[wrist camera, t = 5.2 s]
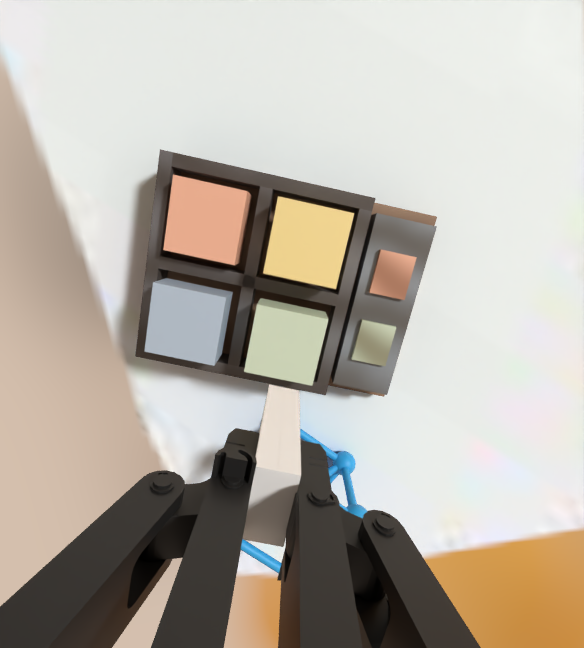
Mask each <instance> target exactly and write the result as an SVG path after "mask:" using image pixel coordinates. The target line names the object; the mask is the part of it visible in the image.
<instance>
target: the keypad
mask: <svg viewBox="0 0 584 648" xmlns="http://www.w3.org/2000/svg"><path fill="white" fill-rule="evenodd" d="M173 175H177V176H182V177H186V178H191V179H195V180H200V181H204V182H209V183H213V184H218V185H222V186H227V187H231V188H235V189H240V190H244V191H248V192H249V193H250V194H251V195H252V200H251V205H250V211H249V216H248V222H247V228H246V233H245V239H244V244H243V250H242V256H241V261H240V263H239V264H236V265H231V264H226V263H221V262H217V261H212V260H207V259H203V258H198V257H194V256H189V255H184V254H180V253H175V252H170V251H166V250H163V249H164V241H165V234H166V226H167V218H168V210H169V203H170V195H171V187H172V179H173ZM278 196H279V197H284V198H288V199H293V200H297V201H302V202H306V203H310V204H315V205H319V206H324V207H328V208H333V209H337V210H342V211H346V212H351V213H354V217H353V221H352V225H351V229H350V233H349V237H348V241H347V245H346V250H345V254H344V258H343V262H342V266H341V270H340V274H339V278H338V282H337V287H336V289H333V288H329V287H324V286H319V285H315V284H310V283H305V282H301V281H296V280H291V279H287V278H282V277H278V276H273V275H268V274H264V273H263V271H264V266H265V261H266V256H267V251H268V246H269V240H270V235H271V230H272V225H273V220H274V215H275V210H276V204H277V199H278ZM374 202H375V198H372V197H368V196H363V195H359V194H354V193H350V192H345V191H341V190H337V189H332V188H328V187H323V186H319V185H315V184H310V183H306V182H301V181H297V180H292V179H288V178H284V177H279V176H275V175H270V174H266V173H262V172H257V171H253V170H248V169H244V168H239V167H235V166H231V165H226V164H222V163H217V162H213V161H209V160H204V159H200V158H195V157H191V156H186V155H182V154H178V153H173V152H169V151H164V150H160V155H159V163H158V172H157V180H156V188H155V197H154V205H153V213H152V222H151V230H150V238H149V247H148V255H147V264H146V272H145V280H144V289H143V297H142V305H141V314H140V322H139V330H138V339H137V347H136V355H135V356H136V357H141V358H146V359H151V360H156V361H161V362H166V363H170V364H175V365H180V366H185V367H190V368H195V369H200V370H205V371H210V372H215V373H219V374H224V375H229V376H234V377H239V378H244V379H249V380H254V381H259V382H264V383H269V384H273V385H278V386H283V387H288V388H293V389H298V390H303V391H308V392H313V393H318V394H322V395H326V391H327V387H328V385H330V386H335V387H340V388H345V389H350V390H354V391H359V392H364V393H369V394H374V395H379V396H384V395H387V393H388V389H389V386H390V383H391V379H392V376H393V372H394V369H395V366H396V362H397V359H398V356H399V352H400V349H401V345H402V342H403V339H404V335H405V332H406V329H407V325H408V322H409V318H410V315H411V312H412V308H413V305H414V302H415V298H416V295H417V291H418V288H419V285H420V281H421V278H422V275H423V271H424V268H425V264H426V261H427V258H428V254H429V251H430V248H431V244H432V241H433V237H434V234H435V231H436V226H434V225H435V222H436V218H437V217H436V216H431V215H427V214H422V213H418V212H413V211H409V210H405V209H400V208H396V207H391V206H387V205H382V204H378V203H374ZM165 278H169V279H174V280H179V281H183V282H188V283H193V284H197V285H202V286H207V287H211V288H216V289H221V290H225V291H230V292H233V294H232V299H231V305H230V311H229V316H228V322H227V328H226V333H225V339H224V345H223V350H222V355H221V356H220V358H219V359H218V361H217V362H216V364H215V365H214V366H213V365H208V364H203V363H198V362H193V361H188V360H184V359H179V358H174V357H169V356H164V355H159V354H154V353H149V352H144V351H145V343H146V335H147V327H148V319H149V311H150V303H151V295H152V287H153V282H155V281H159V280H162V279H165ZM260 298H263V299H268V300H272V301H277V302H282V303H287V304H291V305H296V306H301V307H305V308H310V309H315V310H319V311H324V312H326V314H327V317H328V324H327V328H326V332H325V336H324V340H323V344H322V348H321V352H320V356H319V361H318V365H317V369H316V373H315V377H314V381H313V385H312V386H311V385H306V384H301V383H296V382H291V381H286V380H281V379H276V378H272V377H267V376H262V375H257V374H252V373H247V372H244V369H245V364H246V359H247V353H248V348H249V343H250V338H251V333H252V328H253V323H254V317H255V312H256V307H257V304H258V302H259V300H260Z"/></svg>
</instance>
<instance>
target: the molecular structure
mask: <svg viewBox="0 0 584 648" xmlns="http://www.w3.org/2000/svg"><path fill="white" fill-rule="evenodd" d="M300 438H301V439H303V440H304V441H307V442H312V443H317V444H320V445H321V446H322V447H323V449H324V450H325V451H326V455H327V456H328V457H329V458H330V459H332V460H333V462H332V465H333V466H331V467H329V468H328V469H329V476H330V483H332V481H333V480H334V479H335V478H336V477H337V476H338V475H339V474H340V475H343V480H344V485H345V491H346V496H347V501H348V507H344V506H343V505H341V504H340V503H339V505H340V507H342V508H343V509H344V510H346V511H348V512H350V513H352V514H354V515H356V516H358V517H361V518H363V515H364V514H365V513H366V512H367V510H366V509H365V508H364V507H362V506H361V505H358V504H357V503H356V499H355V494H354V490H353V486H352V481H351V477H350V474H351V473H352V472H353V470H354V468H355V460H354V458H353V456H352V455H351V454H350V453H348V452H345V451H341V452H338V453H337V454H336V453H335V452H333V451H332V450H330V449H329V448H327V447H326V446H325V445H323V444H322V443H320V442H319V441H317V440H316V439H314V438H313V437H312V436H310V435H309V434H307V433H306V432H304V431H303V430H302V429H300ZM241 550H242V551H244V552H245V553H247V554H249V555H250V556H252V557H253V558H255V559H257V560H258V561H260V562H261V563H263V564H265V565H266V566H268V567H269V568H271V569H273V570H274V571H276V572H277V573H279V571H280V567H281V563H280V562H279V561H277V560H275V559H274V558H272V557H271V556H269V555H267V554H266V553H264V552H263V551H261V550H259V549H258V548H256V547H255V546H253V545H252V544H250V543H248V542H247V541H245V540H244V539H242V545H241Z"/></svg>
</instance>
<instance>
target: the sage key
mask: <svg viewBox="0 0 584 648" xmlns="http://www.w3.org/2000/svg"><path fill="white" fill-rule="evenodd" d="M327 324H328V317H327V314H326V312H324V311H319V310H315V309H310V308H305V307H301V306H296V305H291V304H287V303H282V302H277V301H272V300H268V299H263V298H260V300H259V302H258V304H257V307H256V312H255V317H254V323H253V328H252V333H251V338H250V343H249V348H248V353H247V359H246V364H245V369H244V372H247V373H252V374H257V375H262V376H267V377H272V378H276V379H281V380H286V381H291V382H296V383H301V384H306V385H311V386H312V385H313V381H314V377H315V373H316V369H317V365H318V361H319V356H320V352H321V348H322V344H323V340H324V336H325V332H326V328H327Z"/></svg>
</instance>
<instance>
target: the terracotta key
mask: <svg viewBox="0 0 584 648" xmlns="http://www.w3.org/2000/svg"><path fill="white" fill-rule="evenodd" d="M251 200H252V195H251V194H250V193H249V192H248V191H244V190H240V189H235V188H231V187H227V186H222V185H218V184H213V183H209V182H204V181H200V180H195V179H191V178H186V177H182V176H177V175H173V179H172V187H171V195H170V203H169V210H168V218H167V226H166V234H165V241H164V249H163V250H166V251H170V252H175V253H180V254H184V255H189V256H194V257H198V258H203V259H207V260H212V261H217V262H221V263H226V264H231V265H236V264H239V263H240V261H241V256H242V250H243V244H244V239H245V233H246V228H247V222H248V216H249V211H250V205H251Z"/></svg>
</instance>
